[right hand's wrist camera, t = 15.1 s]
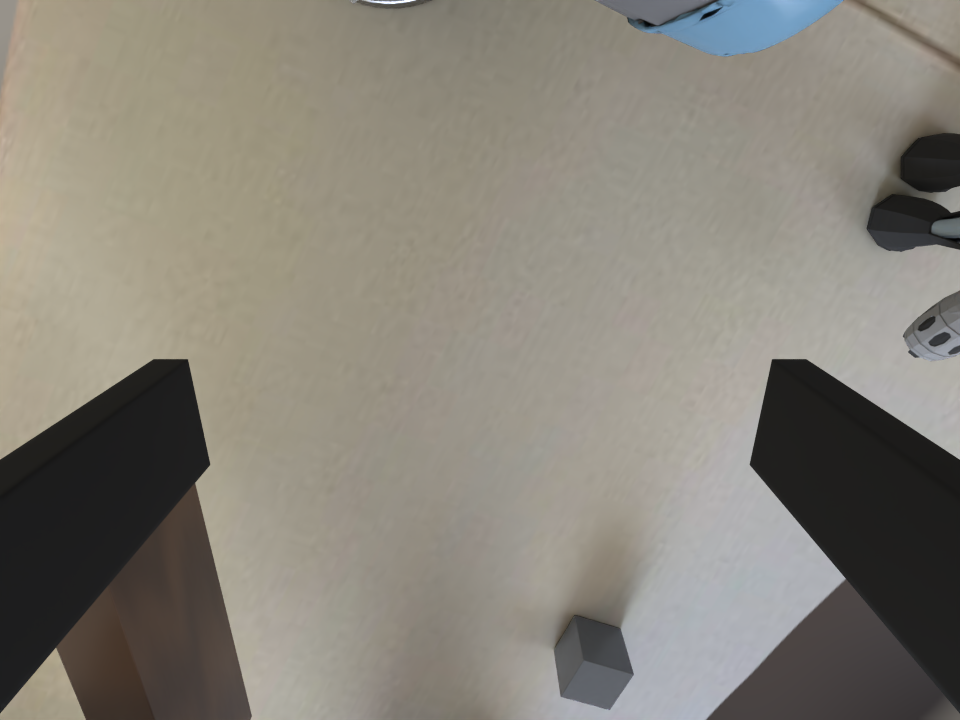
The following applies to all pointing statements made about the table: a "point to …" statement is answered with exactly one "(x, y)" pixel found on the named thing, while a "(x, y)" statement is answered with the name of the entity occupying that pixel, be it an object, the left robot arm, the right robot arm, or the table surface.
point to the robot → (925, 235)
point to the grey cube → (592, 663)
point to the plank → (159, 634)
